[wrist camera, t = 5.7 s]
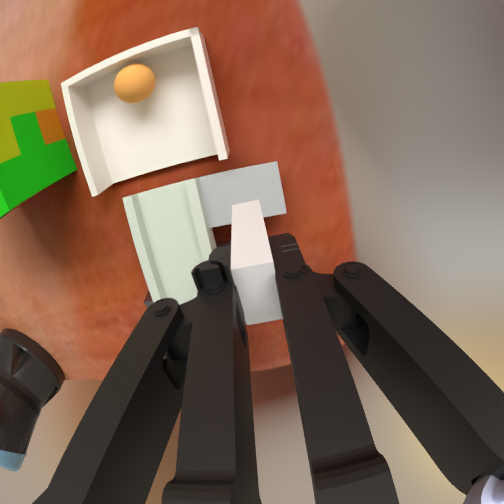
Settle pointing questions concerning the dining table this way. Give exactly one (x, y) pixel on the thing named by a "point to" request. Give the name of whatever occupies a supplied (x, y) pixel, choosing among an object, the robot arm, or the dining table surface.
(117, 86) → the ball
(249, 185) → the lever
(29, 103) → the puzzle toy
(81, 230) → the dining table surface
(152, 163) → the tray
